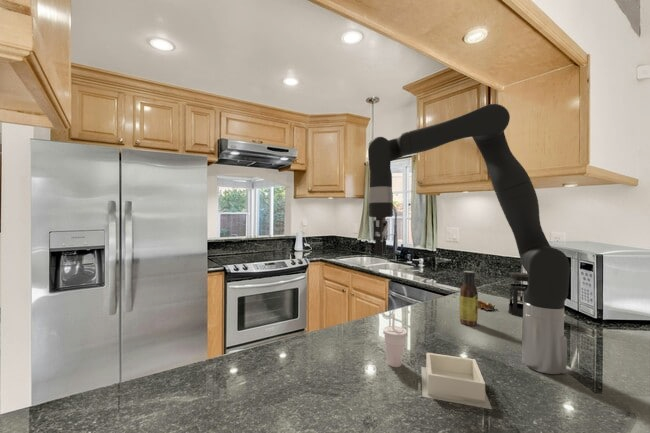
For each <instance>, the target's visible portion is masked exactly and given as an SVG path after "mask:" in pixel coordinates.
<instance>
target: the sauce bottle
mask: <svg viewBox="0 0 650 433" xmlns="http://www.w3.org/2000/svg"><path fill="white" fill-rule="evenodd" d="M462 276H463V284H462V285H461V287H460V290H459V292H460V294H459V322H460V323H461V324H463V325H465V326H470V327H471V326H472V327H473V326H476V325H477V324H478V319H479V315H478V314H479V313H478V312H479V311H478V310H479V309H478V301H479V299H478V298H479V293H478V292H479V291H478V289H477V286H476V283H475V276H476V272H475V271H471V270H463V272H462Z"/></svg>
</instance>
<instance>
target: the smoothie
mask: <svg viewBox="0 0 650 433" xmlns="http://www.w3.org/2000/svg"><path fill="white" fill-rule="evenodd" d="M395 316H396V315H395V313H392V320H391V322H392V324H391V325H388V326H385V327H383V329H382V330H383V331H382V333H383V335H384V343H385V344H384V345H385V354H386V363H387V365H388V366H390V367H392V368H399V367H401V366H402V364H403V358H404V357H403V356H404V351H405V350H404V349H405V343H406V338H407V337H408V331H407V330H406V329H405V328H404V327H402V326H396V325H395V318H396V317H395Z"/></svg>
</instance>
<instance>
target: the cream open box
mask: <svg viewBox="0 0 650 433" xmlns="http://www.w3.org/2000/svg"><path fill="white" fill-rule="evenodd" d="M425 357H426V360H425V361H426V362H425V365H426V366H425V367H426V375H427V390H428V395H434V396H439V397H445V398H450V399H456V400H461V401H467V402H473V403H478V404H484V405H485V392H486V382H485V380H484V378H483V375H482V373H481V370H480V368H479V365H478V363H477V360H476V359H474V358H468V357H461V356H454V355H446V354H439V353H432V352H426V356H425Z"/></svg>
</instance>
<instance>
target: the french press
mask: <svg viewBox="0 0 650 433" xmlns="http://www.w3.org/2000/svg"><path fill="white" fill-rule="evenodd" d="M516 261H517V262H520V266H521V272H510V273H509V275H510V278H511V279H510V280H513V281H520V282H521V283H509V284H508V285H509V304H508V310H507V312H508V314H510V315H513V316H516V317H519V318H520V317H521V318H523V298H524V296H523V292H525V291H526V290H527V288H528V284H526V283H525V284H524V283H523V282H527V283H528V276H529V273H528V272H523V270H524V267H523V265H522V263H521V259H517V260H516ZM518 292H520V296H519V293H518Z"/></svg>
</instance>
